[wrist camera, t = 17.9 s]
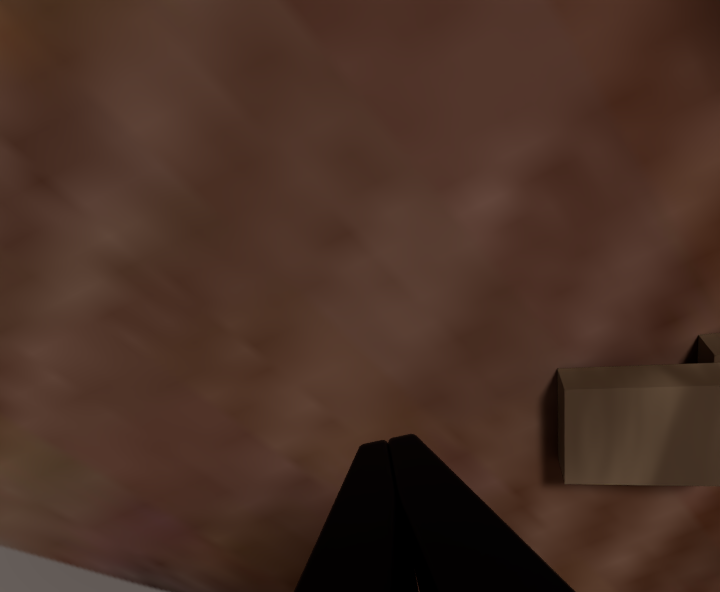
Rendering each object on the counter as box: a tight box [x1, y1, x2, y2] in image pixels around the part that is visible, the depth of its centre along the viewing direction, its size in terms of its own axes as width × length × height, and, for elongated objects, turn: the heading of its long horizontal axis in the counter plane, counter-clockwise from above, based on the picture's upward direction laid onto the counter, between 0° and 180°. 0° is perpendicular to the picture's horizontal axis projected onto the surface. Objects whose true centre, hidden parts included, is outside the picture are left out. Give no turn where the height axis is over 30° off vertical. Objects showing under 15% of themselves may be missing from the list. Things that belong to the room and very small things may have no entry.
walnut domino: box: [558, 363, 720, 486], centre depth 21 cm, size 2×5×8 cm
